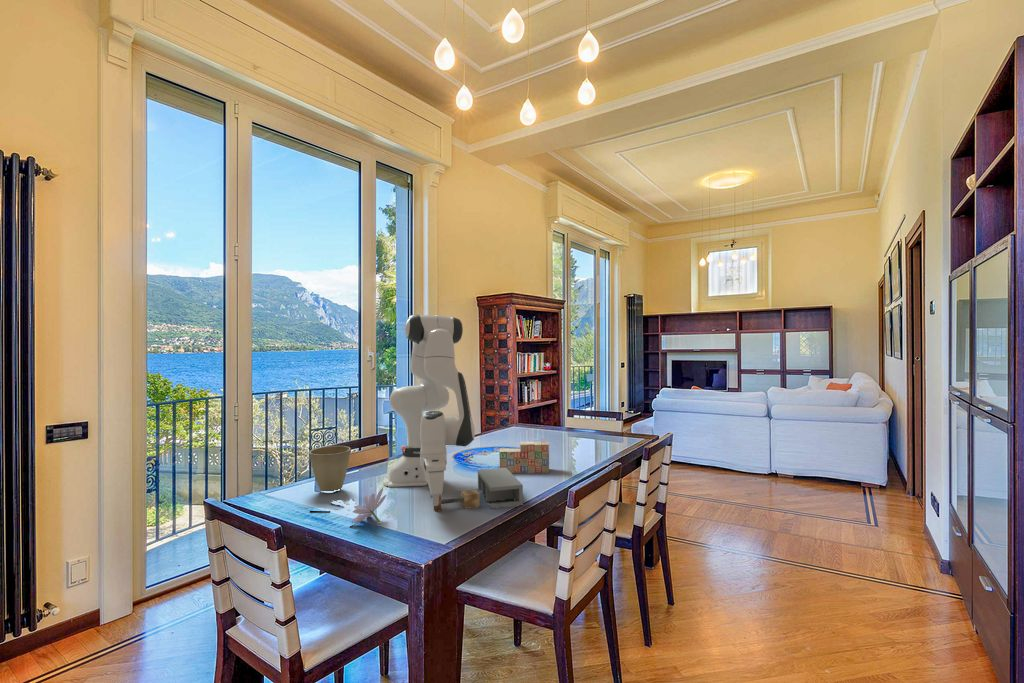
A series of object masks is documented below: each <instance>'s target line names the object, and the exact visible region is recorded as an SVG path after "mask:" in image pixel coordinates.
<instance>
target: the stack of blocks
mask: <svg viewBox="0 0 1024 683" xmlns="http://www.w3.org/2000/svg"><path fill="white" fill-rule="evenodd" d="M549 446H550V443H549V441H541V440H540V441H539V440H537V441H520V448H500V449H499V468H507V469H508V470H509V471H510V472H511V473H512V474H513V473H514V474H515V473H516V474H521V473H522V474H524V473H525V474H528V473H529V474H530V473H533V474H534V473H535V474H536V473H537V474H538V473H539V474H540V473H543V474H545V473H546V474H547V473H550V450H549V449H550V448H549Z"/></svg>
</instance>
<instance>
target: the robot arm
mask: <svg viewBox="0 0 1024 683" xmlns="http://www.w3.org/2000/svg"><path fill="white" fill-rule="evenodd" d="M404 333H405V336H406V339H408V340H409V341H410V342H413V344H412V345H413V346H412V350H411V359H410V367H409V368H410V369H409V370H410V372H411V374H412V375H413V376H414V377H416V378H418V379H420V383H419V384H418V385H408V386H402V387H398V388H395V389H393V390H392V392H391V393H390V395H389V396H390V397H389V401H388V402H389V406H390V408H391V409H392V410H393V412H395V413H396V414H397V415H399V416H400V417H401V420H403V422H404V425H405V428H406V438H407V440H406V441H407V443H406V444H407V445H402V446H401V448H400V449H401V450H400V451H401V452H402V456H400V457H399V458H398V459H397V460H396V461H394V462H393V463H392V464H391V465H390V467H389V471H388V475H387V476H385V477H384V478H383V483H384V484H383V485H384V486H386V487H387V486H388V488H392V487H393V488H394V487H395V488H396V487H420V486H421V487H422V486H423V487H424V486H427V485H428V489H429V491H430V492H429V493H430V494H429V495H430V498H432V506H433V507H434V506H438V505H439V495H441V496H442V495H443V491H444V483H445V482H444V481H445V471H446V470H447V464H448V461H447V460H448V459H447V458H448V457H447V456H448V454H447V450H448V449H447V447H446V446H456V447H467V446H469V445H470V444H471V443H473V441H474V439H475V437H476V436H475V435H476V432H475V431H476V429H475V426H474V423H473V418H472V414H471V407H470V401H469V396H468V390H467V385H466V381H465V377H464V375H463V373H462V372H460V371H459V370H458V368H457V366H456V362H455V360H456V358H455V356H456V355H455V344H458V343H459V342H460V341H461V339H462V336H463V333H464V328H463V323H462V321H461V320H460V319H459V318H457V317H454V316H451V317H450V316H446V315H438V314H435V315H434V314H433V315H432V314H421V315H420V314H411V315H410V316H409V317H408V318H407V319H406V322H405V325H404ZM449 389H451V390H452V391H453V393H454V395H455V398H456V405H457V410H458V417H445V414H444V413H443V412H442V411H439V410H440V409H443V408H445V407H447V405H448V404H449V401H450V392H449Z"/></svg>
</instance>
